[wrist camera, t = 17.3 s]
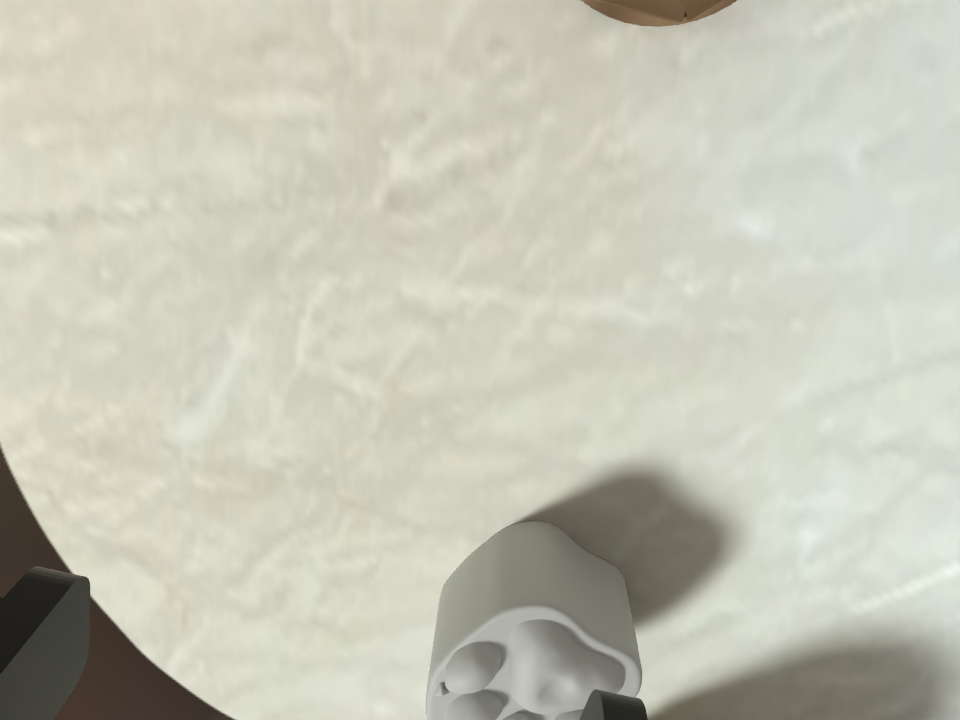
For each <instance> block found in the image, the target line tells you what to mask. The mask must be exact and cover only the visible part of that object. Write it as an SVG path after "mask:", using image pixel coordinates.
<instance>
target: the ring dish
mask: <svg viewBox="0 0 960 720" xmlns="http://www.w3.org/2000/svg"><path fill="white" fill-rule="evenodd" d="M582 1H583V2H584V3H586V4H587V5H589V6H590V7H591V8H593V9H595V10H596V11H598V12H600V13H602V14H604V15H606V16H608V17H611V18H613V19H616V20H619V21H622V22H625V23H630V24H636V25H641V26H669V25H679V24H683V23H687V22H692V21H696V20H699V19H701V18H704V17H706V16H709V15H712V14H714V13H716V12H718V11H720V10H722V9H724V8H725V7H727V6H729V5H731V4H732V3H734V2H735V1H737V0H582Z"/></svg>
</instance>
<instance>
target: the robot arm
mask: <svg viewBox="0 0 960 720" xmlns="http://www.w3.org/2000/svg"><path fill="white" fill-rule="evenodd" d="M89 628H90V582H89V579H88V578H87V577H84V576H79V575H75V574H70V573H65V572H61V571H56V570H52V569H47V568H42V567H34V568H32V569H30V570H29V571H28V572H27V573H26V574H25V575H24V576H23V577H22V578H21V579H20V580H19V581H18V582H17V583H16V584H15V586H14V587H13V588H12V589H11V590H10V591H9V592H8V593H7V594H6V596H5V597H4V598H0V720H53V719H54V718H55V716H56V715H57V713H58V712H59V710H60V709H61V707H62V706H63V704H64V703H65V701H66V700H67V698H68V697H69V696H70V694H71V692H72V691H73V689H74V688H75V686H76V684H77V682H78V680H79V678H80V676H81V674H82V672H83V669H84V666H85V663H86V660H87V656H88V652H89V633H90V632H89V630H90V629H89ZM579 720H648V719H647V714H646V709H645V706H644V703H643V702H642V700H641V699H639V698H634V697H629V696H625V695H620V694H616V693H611V692H606V691H602V690H597V689H595V690H593V691H592V693H591V694H590V696H589V698H588V701H587V703H586V705H585V708H584V710H583V712H582V714H581V717H580V719H579Z"/></svg>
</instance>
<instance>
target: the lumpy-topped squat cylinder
mask: <svg viewBox="0 0 960 720" xmlns="http://www.w3.org/2000/svg"><path fill="white" fill-rule="evenodd" d="M641 683H642V668H641V662H640V657H639V652H638V645H637V640H636V635H635V629H634V624H633V619H632V614H631V609H630V604H629V598H628V593H627V588H626V583H625V579H624V577H623V575H622V573H621V572H620V571H619V570H618V569H617V568H616V567H615V566H613V565H612V564H610V563H609V562H607V561H605V560H603V559H601V558H599V557H596V556H594V555H592V554H591V553H589V552H587V551H586V550H584V549H583V548H581V547H580V546H579V545H578V544H577V543H576V542H574V541H573V540H572V539H571V538H570V537H569V536H568V535H567V534H566V533H565V532H564V531H562V530H561V529H560V528H558V527H556V526H555V525H552V524H550V523H547V522H542V521H525V522H520V523H516V524H513V525H510V526H508V527H506V528H504V529H502V530H500V531H499V532H497V533H496V534H495V535H493V536H492V537H491V538H490V539H488V540H487V541H486V542H485V543H483V544H482V545H481V546H480V547H478V548H477V549H476V550H475V551H474V552H473V553H472V554H471V555H469V556H468V557H467V558H466V559H465V560H464V561H463V562H462V564H461V565H460V566H459V567H458V568H457V569H456V570H455V571H454V572H453V574H452V575H451V576H450V577H449V578H448V580H447V581H446V583H445V584H444V586H443V588H442V591H441V595H440V600H439V606H438V613H437V620H436V628H435V635H434V642H433V649H432V657H431V664H430V671H429V678H428V685H427V694H426V714H427V718H428V720H579V719H580V717H581V714H582V712H583V710H584V708H585V705H586V703H587V701H588V698H589V696H590V694H591V693H592V691H593V690H595V689H597V690H602V691H606V692H611V693H616V694H620V695H625V696H629V697H634V698H635V697H636V696H637V694H638V693H639V690H640V687H641Z"/></svg>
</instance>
